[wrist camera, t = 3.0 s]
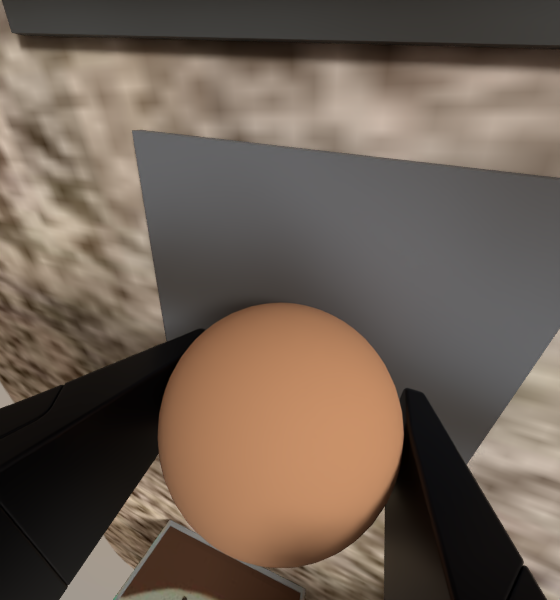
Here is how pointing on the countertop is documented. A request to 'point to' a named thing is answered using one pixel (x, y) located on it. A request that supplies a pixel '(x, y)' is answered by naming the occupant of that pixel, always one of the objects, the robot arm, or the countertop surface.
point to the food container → (200, 573)
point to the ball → (280, 435)
